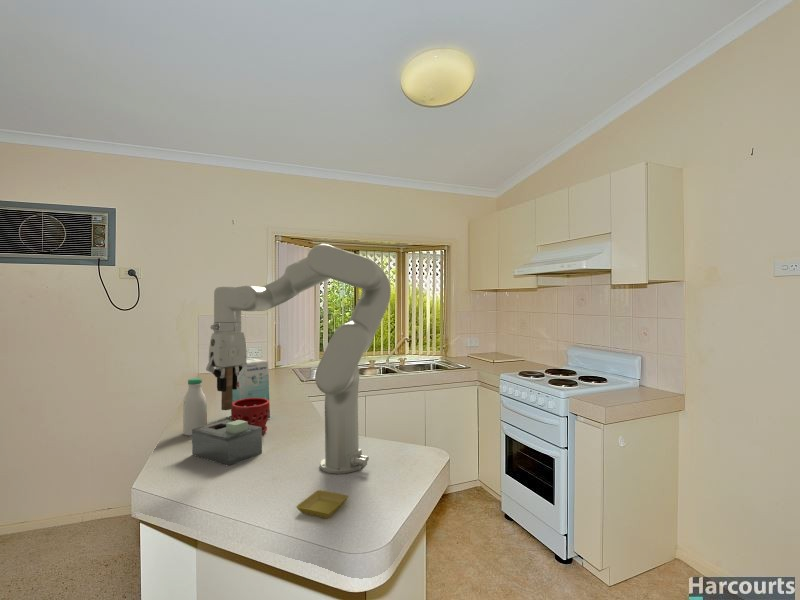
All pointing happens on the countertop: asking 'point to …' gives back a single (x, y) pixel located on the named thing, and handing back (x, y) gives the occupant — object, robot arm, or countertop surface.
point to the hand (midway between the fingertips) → (227, 389)
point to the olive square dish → (322, 503)
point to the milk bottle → (194, 407)
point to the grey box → (226, 443)
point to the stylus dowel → (228, 390)
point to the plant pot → (251, 411)
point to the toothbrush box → (253, 381)
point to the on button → (236, 426)
